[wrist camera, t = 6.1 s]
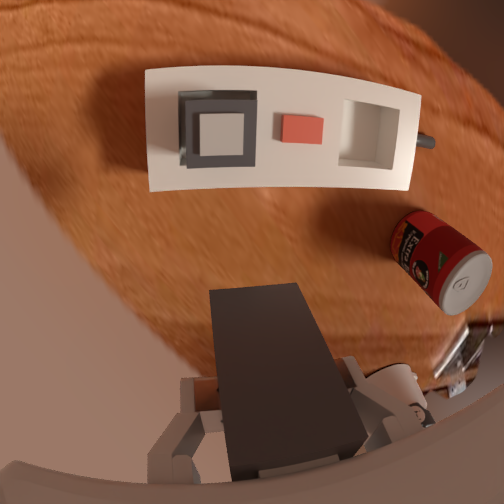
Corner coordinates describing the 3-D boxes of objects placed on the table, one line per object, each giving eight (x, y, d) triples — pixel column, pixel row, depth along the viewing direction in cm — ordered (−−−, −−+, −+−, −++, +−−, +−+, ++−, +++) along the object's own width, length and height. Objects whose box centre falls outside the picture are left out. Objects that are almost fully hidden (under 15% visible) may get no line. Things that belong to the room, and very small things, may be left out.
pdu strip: (421, 178, 29) (478, 211, 21) (158, 174, 25) (139, 214, 17) (431, 103, 25) (495, 118, 17) (155, 75, 21) (130, 62, 12)
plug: (288, 342, 16) (338, 483, 8) (215, 350, 15) (236, 504, 8) (296, 282, 14) (373, 447, 6) (209, 290, 13) (231, 479, 6)
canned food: (389, 215, 31) (451, 265, 22) (438, 203, 31) (500, 245, 22) (386, 270, 35) (434, 326, 26) (432, 254, 35) (482, 302, 26)
